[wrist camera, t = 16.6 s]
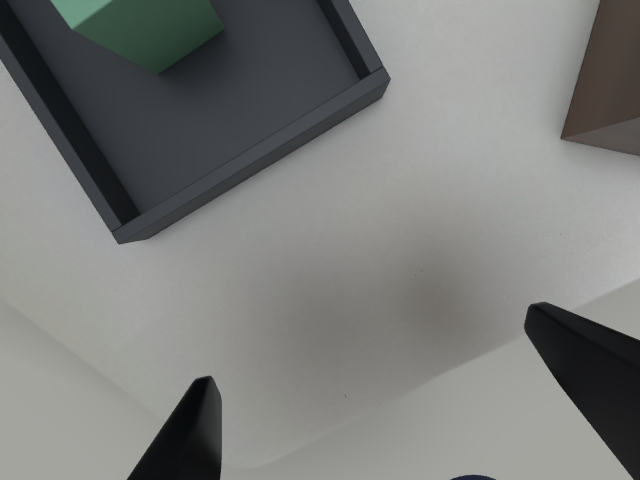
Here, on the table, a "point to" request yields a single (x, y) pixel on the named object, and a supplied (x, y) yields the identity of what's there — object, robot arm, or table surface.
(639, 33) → the block
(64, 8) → the green rectangular block
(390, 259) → the table surface
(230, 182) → the dark grey tray
